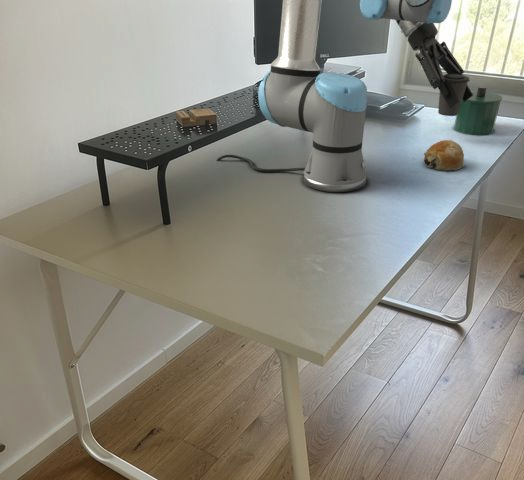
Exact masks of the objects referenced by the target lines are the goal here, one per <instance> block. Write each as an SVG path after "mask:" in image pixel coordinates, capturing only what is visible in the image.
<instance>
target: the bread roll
mask: <svg viewBox="0 0 524 480" xmlns="http://www.w3.org/2000/svg"><path fill="white" fill-rule="evenodd" d="M423 155H424V157H423V163H424V165H426V167H427V168H429V169H432V170H436V171H441V172H442V171H444V172H448V171H458V170H460V169H461V168H464V166H465V165H464V164H465V163H464V161H465V158H464V157H465V154H464V150H463V147H462V146H461V144H459V143H458V142H456V141H454V140H451V139H449V140H448V139H444V140H440V141H438V142H436V143H433V144H431V145H430V147H429V148H428V149H426V152H424V154H423Z"/></svg>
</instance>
